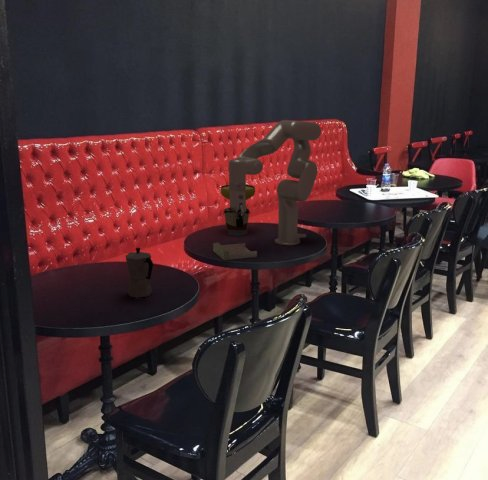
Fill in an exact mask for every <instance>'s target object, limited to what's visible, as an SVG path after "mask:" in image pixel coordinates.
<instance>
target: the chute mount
mask: <svg viewBox="0 0 488 480" xmlns="http://www.w3.org/2000/svg"><path fill="white" fill-rule="evenodd" d="M212 244H213V245H212V246H213V249H212V250H213V253H215V254H216V255H217V256H218V257H219V258H220V259H222V260H223V261H229V260H241V259H250V258H257V257H258V251H257V250H254V251H253V250H252V251H251V250H249V248H247V247H246V246H247V245H246V243H245V242H243V243H234V244H231V243H230V244H220V242H214V243H212Z"/></svg>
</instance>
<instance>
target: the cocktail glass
mask: <svg viewBox="0 0 488 480" xmlns="http://www.w3.org/2000/svg"><path fill="white" fill-rule="evenodd" d="M244 191H245V196H246V201H247V200H249V199H251V198H253V197H254V196H255V194H256V188H255V185H254V186H253V185H251V184H246V189H245V190H244ZM220 194H221V196H222V197H224V199H227V200H229V201H230V190H229V184H225V185H222V186H221V187H220ZM227 234H228V235H230V236H236V237H239V236H240V237H241V236H246V235H248V234H249V232H248V231H227Z"/></svg>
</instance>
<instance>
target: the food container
mask: <svg viewBox="0 0 488 480" xmlns="http://www.w3.org/2000/svg"><path fill="white" fill-rule="evenodd" d="M238 212H240V211H238ZM239 214H240V213H238V215H239ZM223 215H224V221H225V230H226V231H227V232H230V231H246V232H248V226H249V225H248V224H249V217H250V216H249V215H251V211H250V209H249V208H247V207H246V212H244V216H243V227H238V228H237V227H236V219H237V214H236V212H234V211H233V210H231V208H230V207H227V208H225V209H224V210H223Z"/></svg>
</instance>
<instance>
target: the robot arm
mask: <svg viewBox="0 0 488 480" xmlns="http://www.w3.org/2000/svg"><path fill="white" fill-rule="evenodd" d="M321 134H322V128H321V126H320V124H318V123H317V122H312V121H311V122H310V121H302V120H290V119H283V120H280V121H279V122H277V124H275V126H273V127H272V128H271V130H270V131H269V132H268V133H267V134H266V135H265V136H264V137H263V138H261V139H260V140H258V141H256V142H255V143H252V144H251V145H250V146H248V147H246V148H245V149H244V150H243V151H242V152H241V153H240V154H239V155H238V156H237V158H231V159H229V161H228V185H229V190H230V200H229V208H231V210H233V211H234V212H236V214H237V219H236V227H237V228H238V227H243V216H244V212H246V208H247V200H246V196H245V191H244V190H245V189H246V185H247V184H246V183H247V182H246V180H247V179H246V178H247V177H246V176H248V175H251V176H255V175H258V174H260V173H261V172H262V171H263V168H264V164H263V162H262V160H260V159H259V158H261V157H264V156H269V155H271V154H274V153H276V152H277V151H278V150H279V149H280V148H281V147H282V146H283V144H285V142H286V141H288V140H289V139H290V140H292V141H293V151H292V154H291V157H290V160H289V162H288V165H287V169H286V172H287V173H286V174H287V175H288V176H289V177H290V178H292V179H288V178H287V179H283V180H280V182H278V184H277V187H276V193H277V199H278V200H277V201H278V225H277V226H278V229H277V231H278V232H277V238H274V243H275V244H277V245H281V246H296V245H299V244H300V243H301V238H302V239H305V238H307V234H306V233H298V218H299V215H298V213H299V208H298V207H299V206H298V203H297V202H299V203H303V202H306V201H307V200H308V199H309V197H310V195H311V193H312V189H313V188H314V186H315V182H316V179H317V176H318V165H317V164H316V162H314V161H312V160H310V157H311V153H312V147H311V143H310V141H312V142H313V141H317V140H318V139H319V138H320V137H321ZM293 178H294V179H295V180H294V179H293ZM238 211H240V212H238ZM238 213H240V214H239V215H238Z"/></svg>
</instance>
